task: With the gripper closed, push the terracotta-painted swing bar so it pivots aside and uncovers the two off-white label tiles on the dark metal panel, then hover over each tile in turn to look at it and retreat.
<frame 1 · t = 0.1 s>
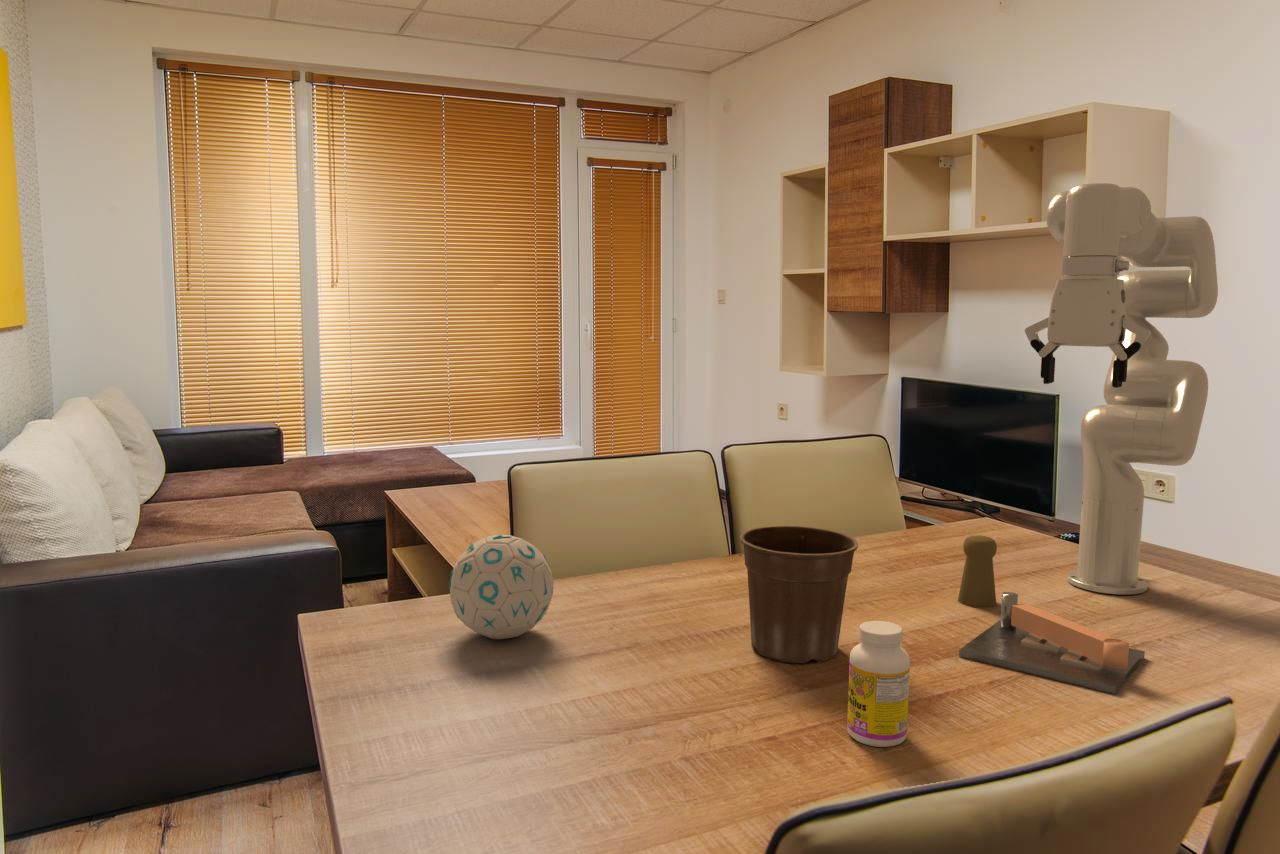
hand: (1082, 385, 143), 37 cm above the table, tool pointing down, fingers open, 9 cm apart
panel: (1051, 657, 132), on the table
supplement bottle: (876, 737, 108), on the table
puzzle ball: (502, 636, 140), on the table
plant pot: (795, 650, 135), on the table
cork: (976, 603, 156), on the table
swing bar: (1068, 634, 131), point 4 cm above the table, hinge at 62.0°
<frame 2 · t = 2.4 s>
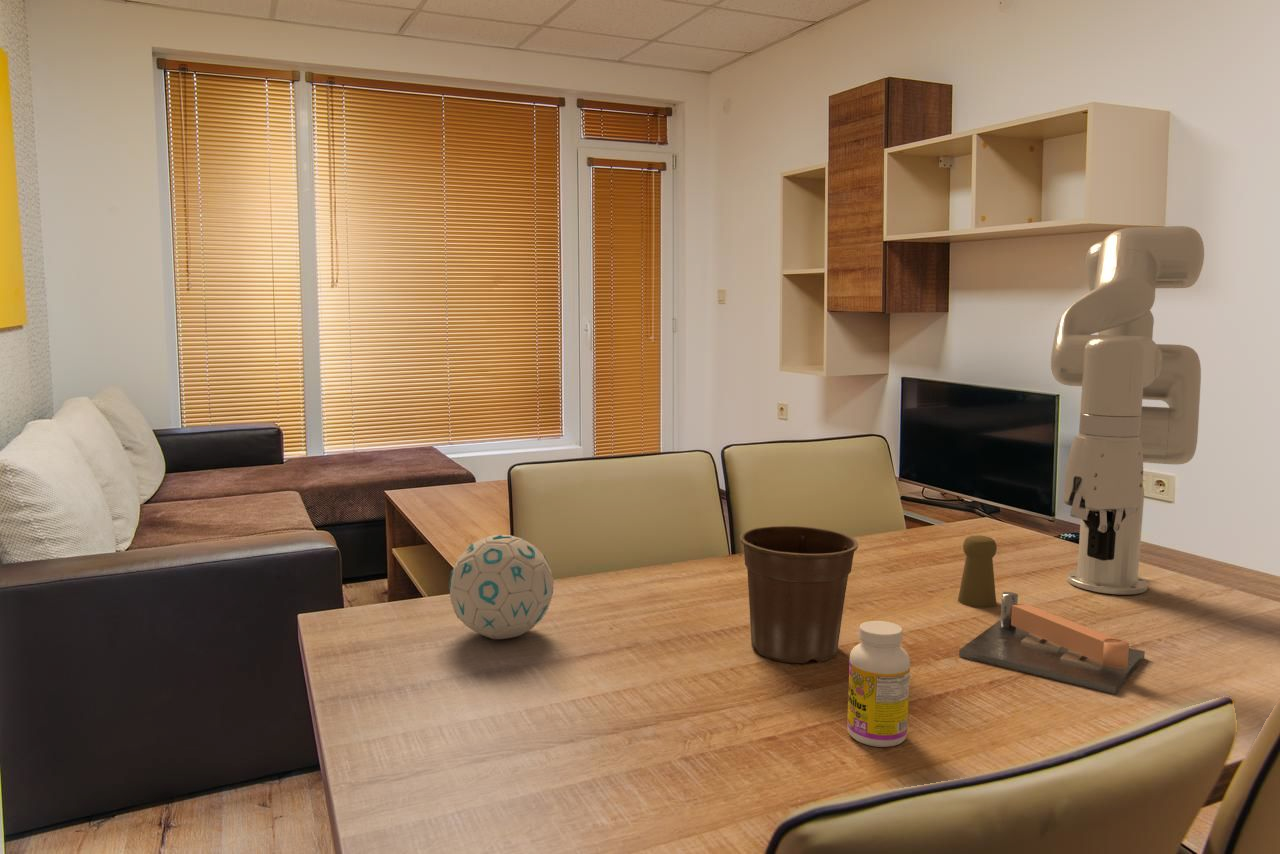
hand: (1100, 557, 132), 14 cm above the table, tool pointing down, fingers closed
nothing on the table moved.
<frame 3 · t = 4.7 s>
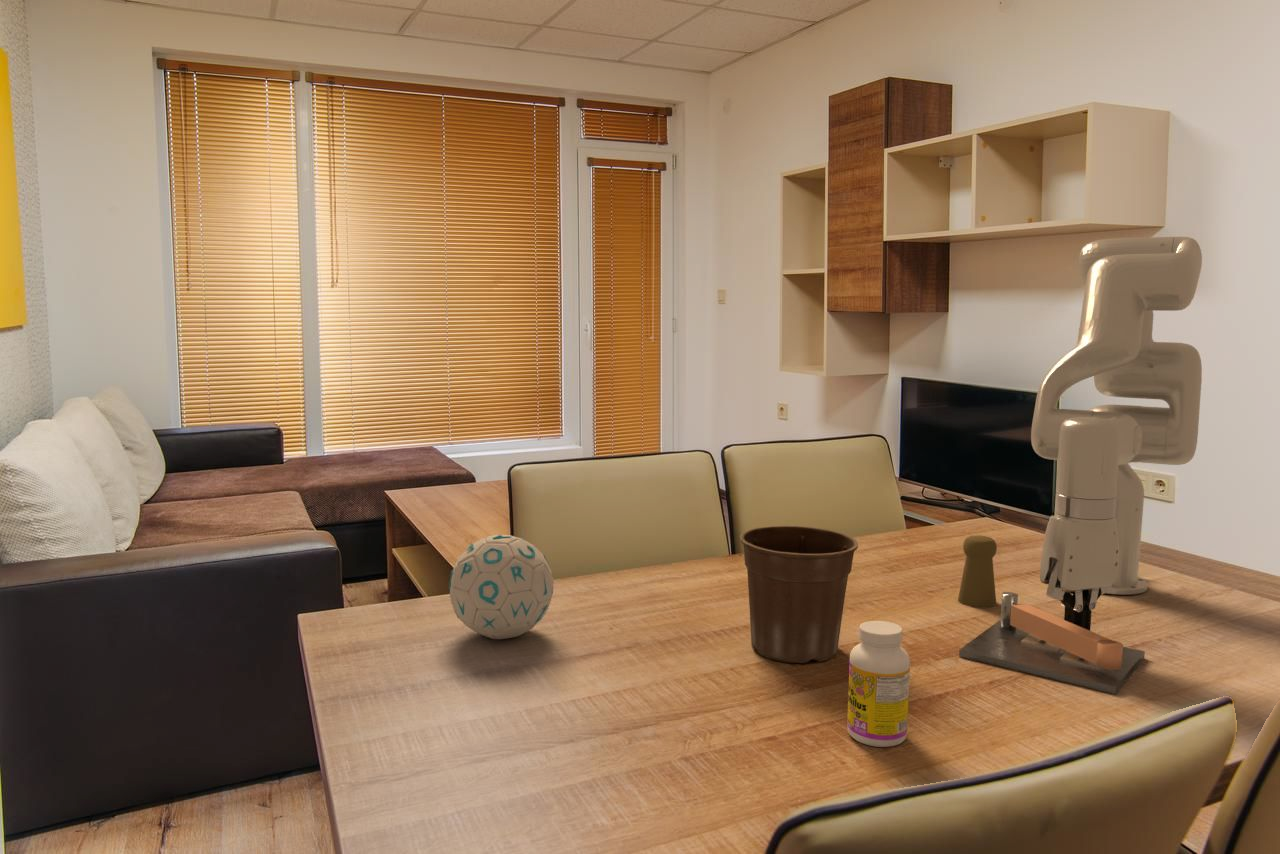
hand: (1076, 635, 133), 3 cm above the table, tool pointing down, fingers closed
swing bar: (1064, 635, 131), point 4 cm above the table, hinge at 58.7°, touching gripper
everything else where it was.
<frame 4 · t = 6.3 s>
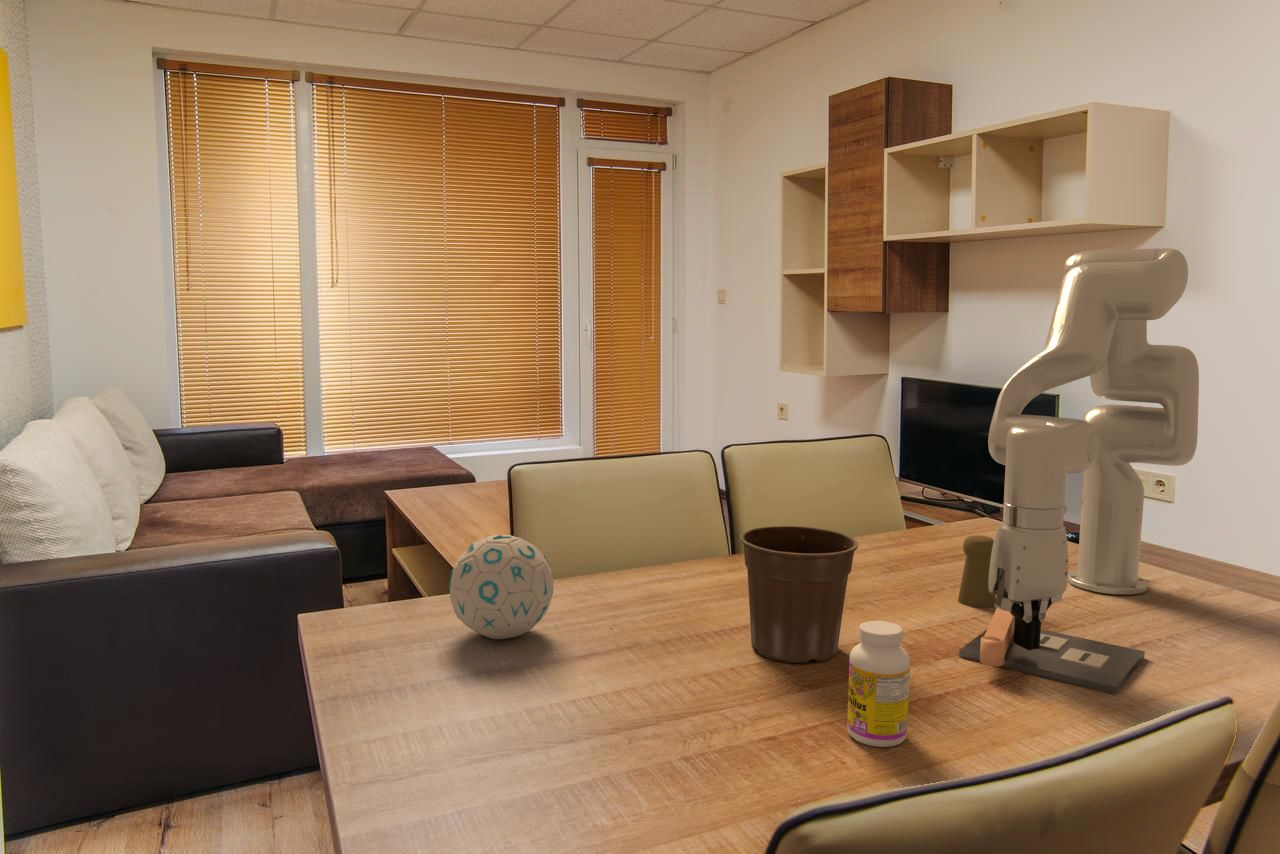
hand: (1026, 645, 130), 2 cm above the table, tool pointing down, fingers closed
swing bar: (999, 633, 131), point 4 cm above the table, hinge at 12.1°
everything else where it was.
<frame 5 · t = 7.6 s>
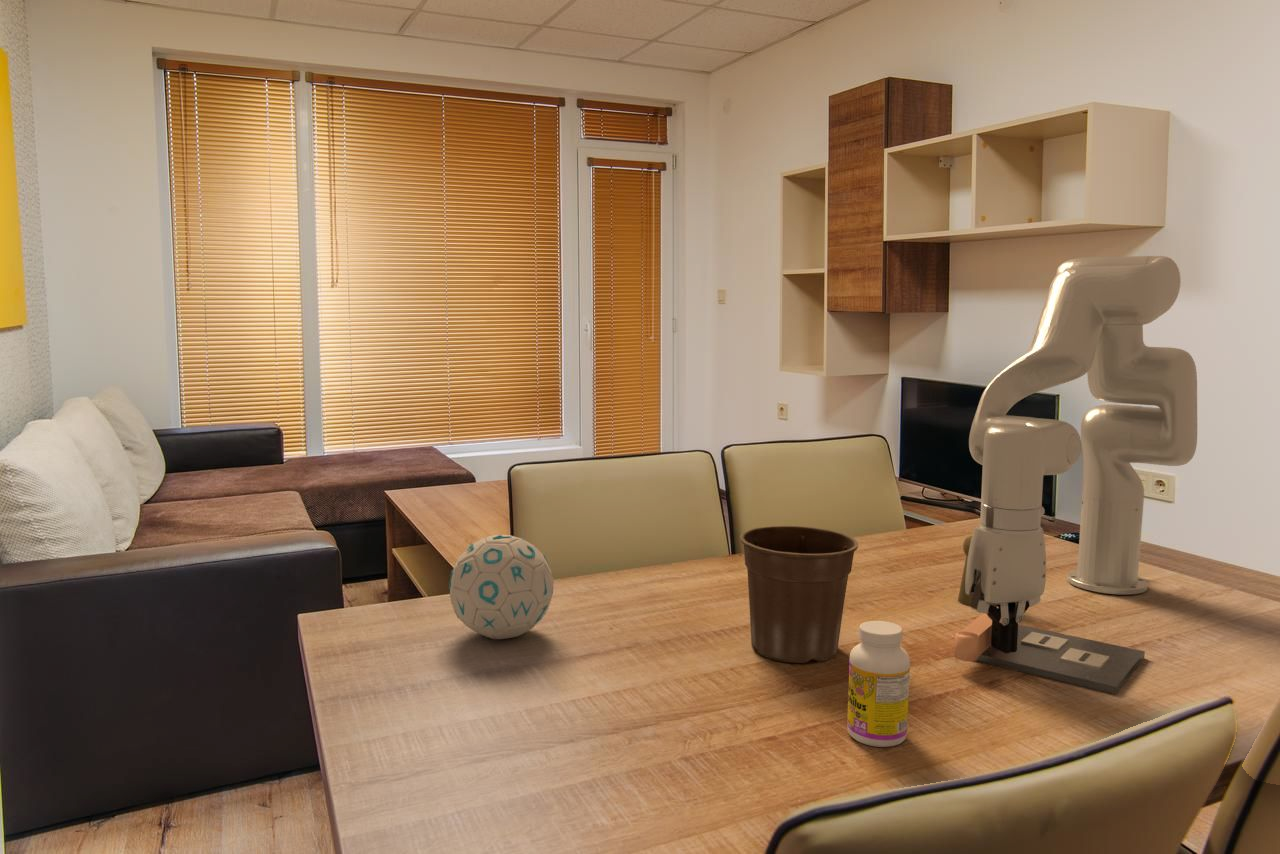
hand: (1003, 649, 129), 2 cm above the table, tool pointing down, fingers closed
swing bar: (985, 630, 132), point 4 cm above the table, hinge at 2.0°, touching gripper
everything else where it was.
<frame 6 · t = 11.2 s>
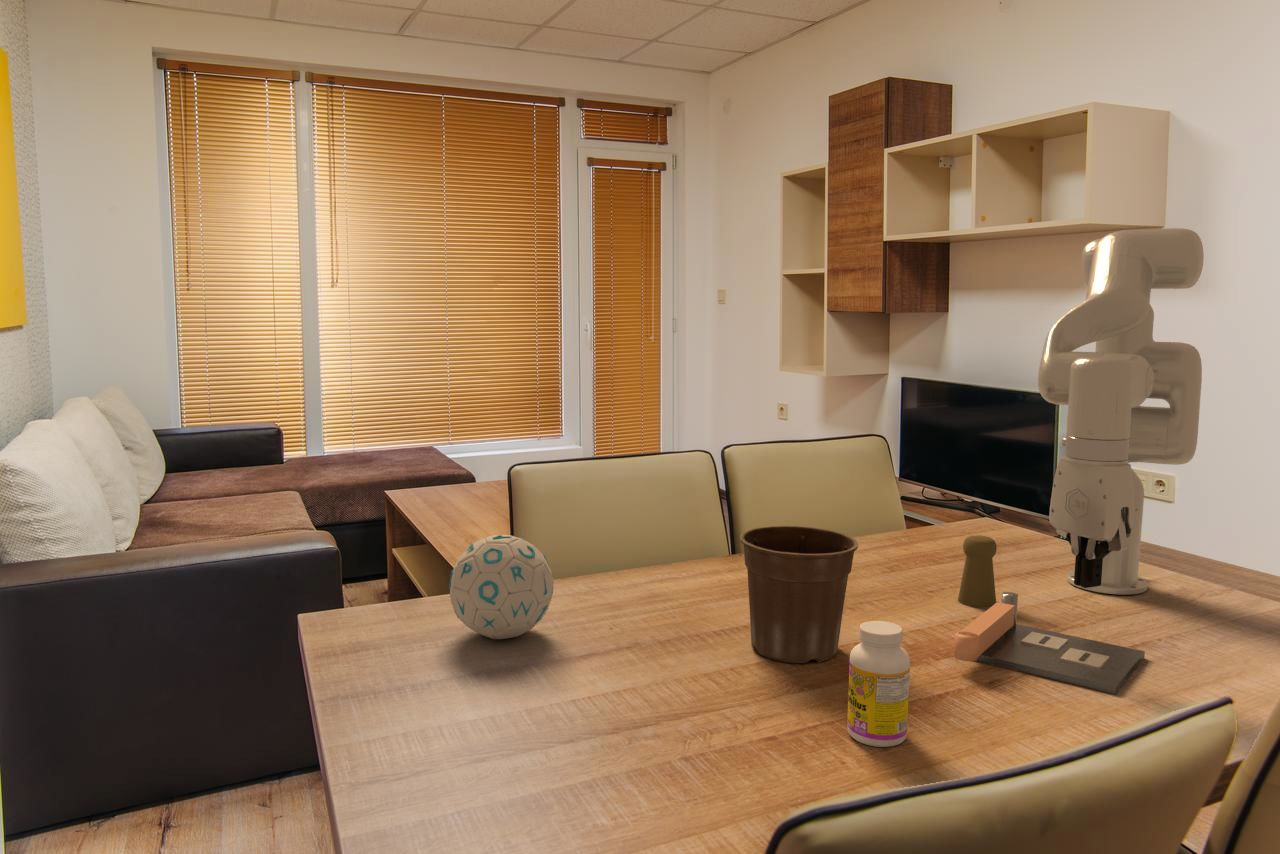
hand: (1087, 585, 127), 11 cm above the table, tool pointing down, fingers closed
swing bar: (985, 630, 132), point 4 cm above the table, hinge at 2.0°
everything else where it was.
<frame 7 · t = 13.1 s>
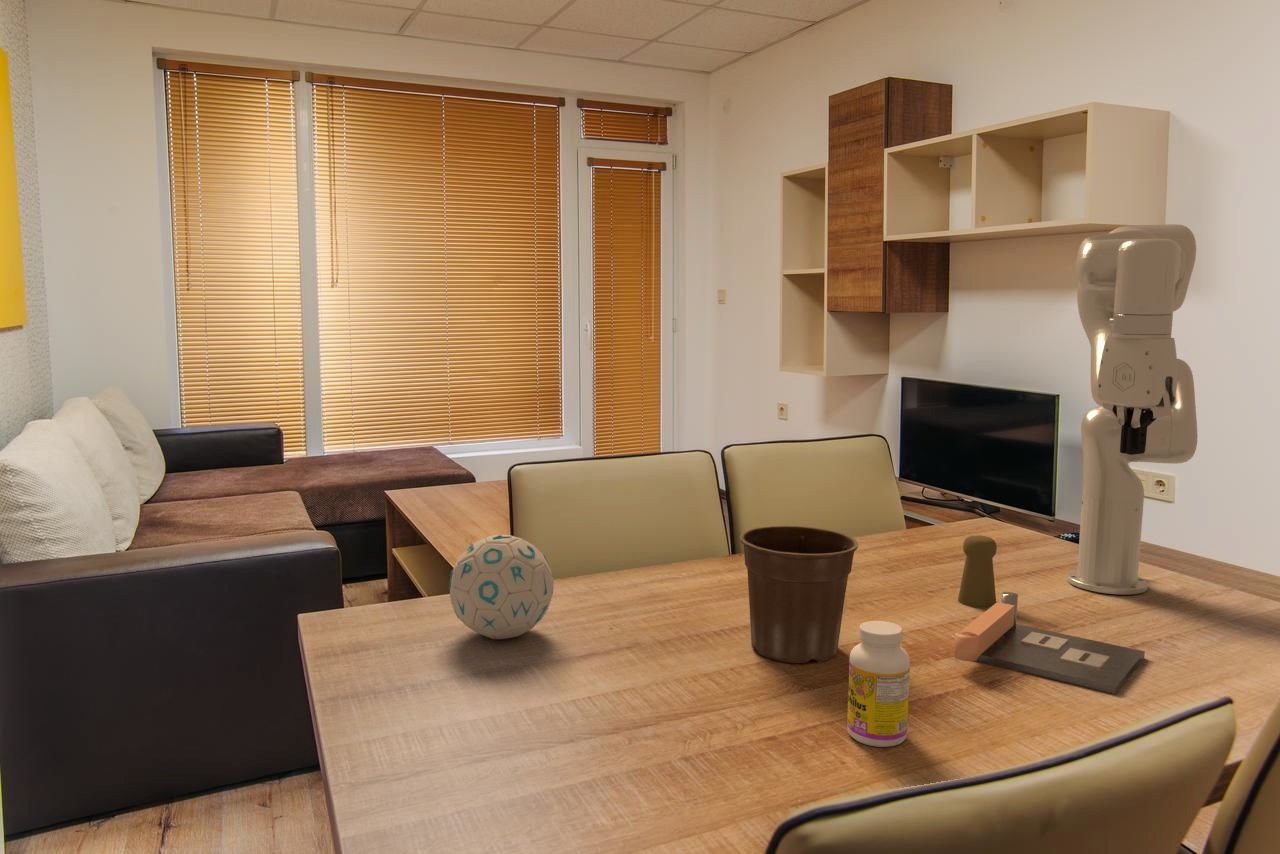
hand: (1132, 452, 138), 27 cm above the table, tool pointing down, fingers closed
nothing on the table moved.
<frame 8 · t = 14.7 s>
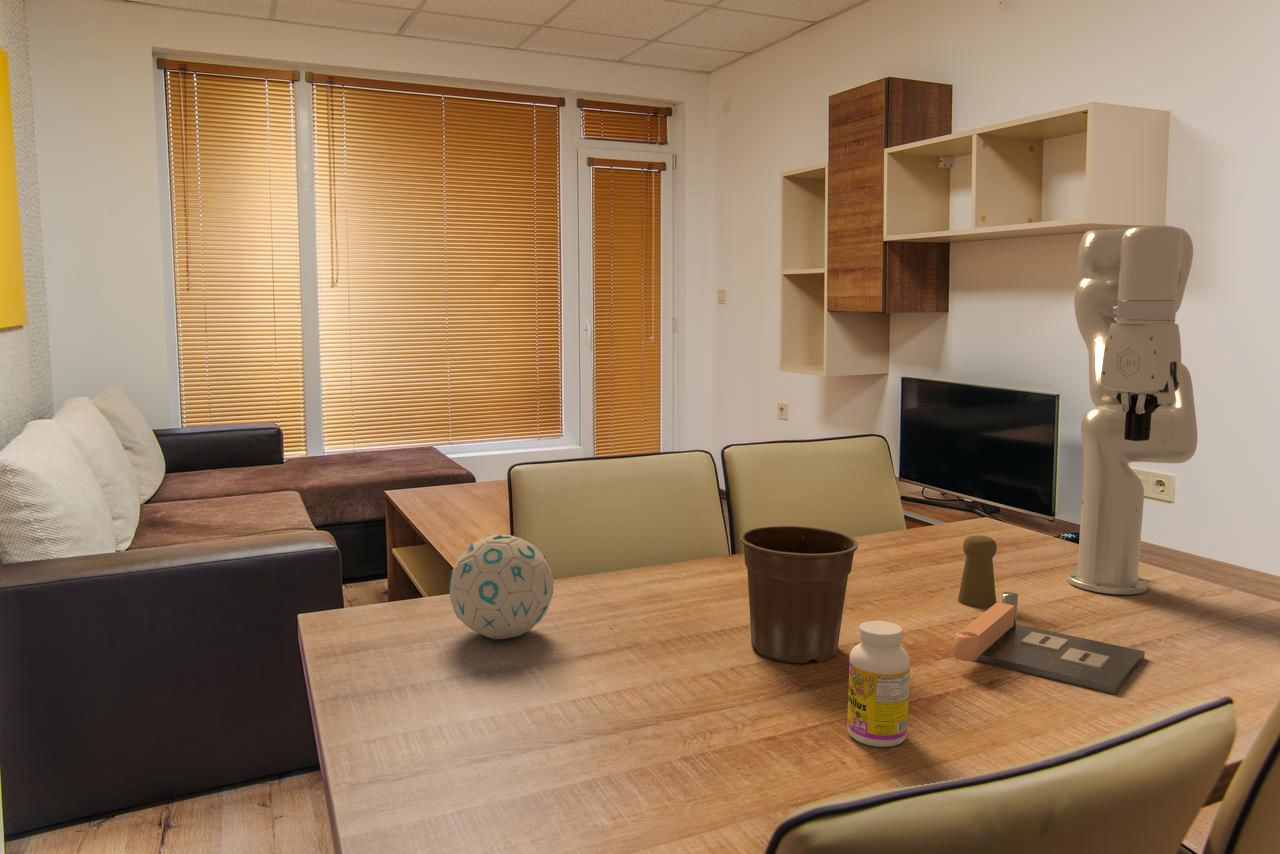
hand: (1136, 439, 139), 29 cm above the table, tool pointing down, fingers closed
nothing on the table moved.
at the end: swing bar at +2° (first picture: +62°) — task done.
